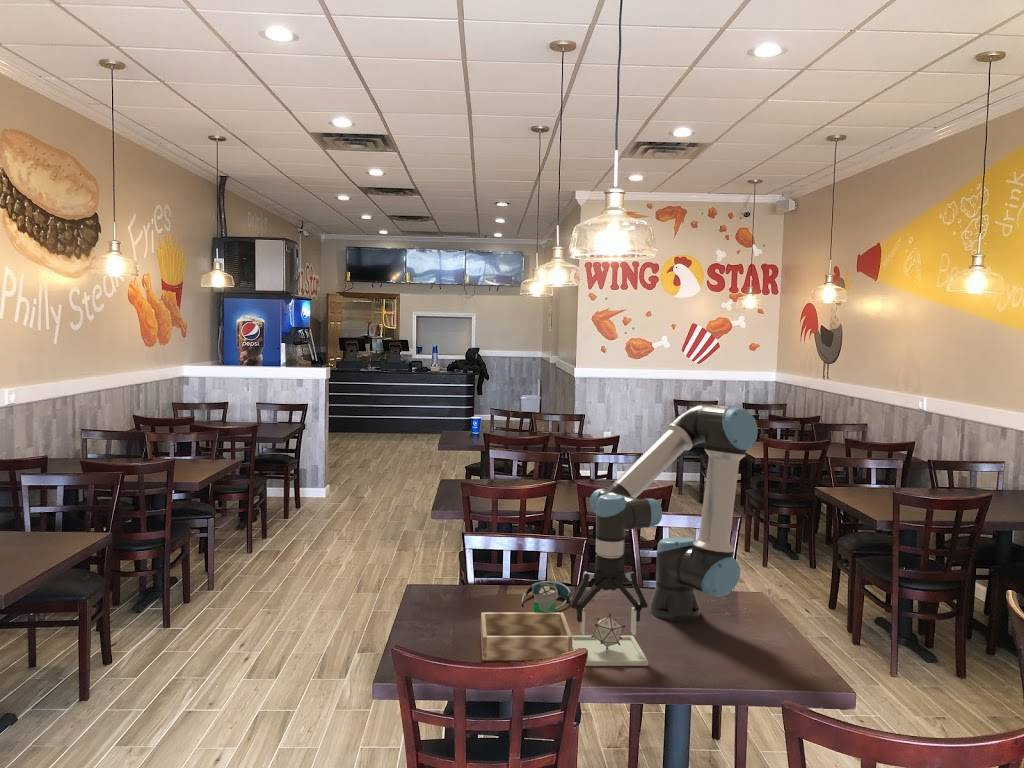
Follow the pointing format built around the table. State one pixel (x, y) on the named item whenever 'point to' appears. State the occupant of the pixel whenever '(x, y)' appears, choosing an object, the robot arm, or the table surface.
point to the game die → (608, 631)
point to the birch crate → (524, 644)
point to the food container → (545, 599)
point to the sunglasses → (561, 588)
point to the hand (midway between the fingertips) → (608, 633)
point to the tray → (611, 651)
